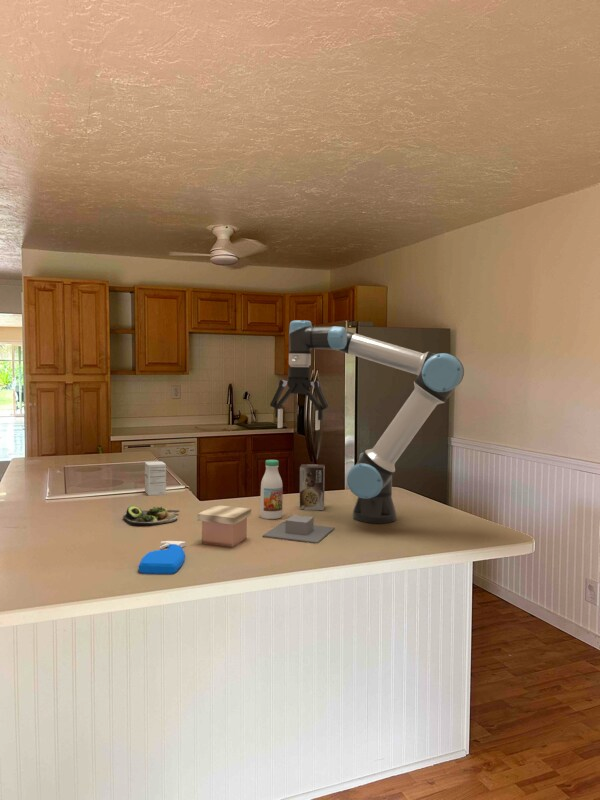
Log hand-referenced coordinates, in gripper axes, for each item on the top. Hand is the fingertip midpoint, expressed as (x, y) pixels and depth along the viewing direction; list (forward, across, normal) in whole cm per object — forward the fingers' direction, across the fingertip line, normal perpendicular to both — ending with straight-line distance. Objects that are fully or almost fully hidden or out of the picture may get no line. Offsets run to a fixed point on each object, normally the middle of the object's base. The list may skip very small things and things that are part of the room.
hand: (298, 428), depth 205 cm
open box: (+32, -12, -31) cm, 46 cm away
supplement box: (+32, -68, +17) cm, 77 cm away
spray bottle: (+32, -19, -52) cm, 64 cm away
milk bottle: (+32, -10, +1) cm, 33 cm away
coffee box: (+32, -1, +19) cm, 37 cm away
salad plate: (+32, -47, -19) cm, 60 cm away
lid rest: (+32, +6, -14) cm, 35 cm away
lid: (+25, -12, -31) cm, 41 cm away
